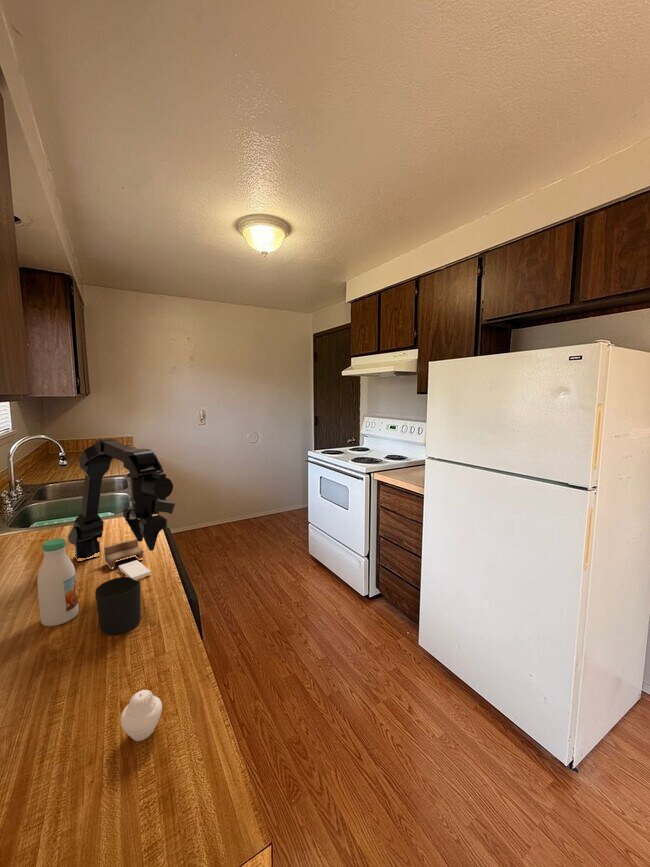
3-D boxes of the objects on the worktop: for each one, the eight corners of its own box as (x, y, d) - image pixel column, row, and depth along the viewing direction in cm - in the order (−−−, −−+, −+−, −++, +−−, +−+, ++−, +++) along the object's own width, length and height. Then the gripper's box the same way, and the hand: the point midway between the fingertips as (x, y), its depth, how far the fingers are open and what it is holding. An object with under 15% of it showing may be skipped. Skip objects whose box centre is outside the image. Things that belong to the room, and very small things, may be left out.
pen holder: (144, 610, 94) (142, 573, 93) (140, 631, 85) (137, 591, 84) (102, 618, 90) (100, 580, 89) (94, 641, 82) (90, 600, 81)
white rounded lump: (169, 715, 63) (167, 678, 62) (153, 749, 57) (151, 708, 56) (133, 716, 62) (130, 679, 62) (113, 750, 56) (110, 710, 56)
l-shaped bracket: (110, 570, 115) (109, 552, 115) (105, 564, 119) (104, 547, 119) (143, 560, 122) (142, 543, 122) (137, 555, 126) (136, 538, 126)
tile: (132, 584, 108) (131, 577, 108) (118, 571, 115) (118, 565, 115) (151, 577, 112) (151, 571, 112) (137, 565, 120) (137, 559, 119)
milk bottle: (55, 630, 86) (48, 549, 84) (33, 623, 88) (25, 545, 86) (86, 612, 93) (80, 537, 91) (64, 606, 95) (58, 533, 93)
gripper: (184, 494, 103) (186, 546, 104) (159, 483, 116) (161, 530, 117) (142, 502, 95) (146, 558, 96) (120, 489, 108) (124, 540, 109)
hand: (145, 545), depth 105 cm, fingers open, 9 cm apart
